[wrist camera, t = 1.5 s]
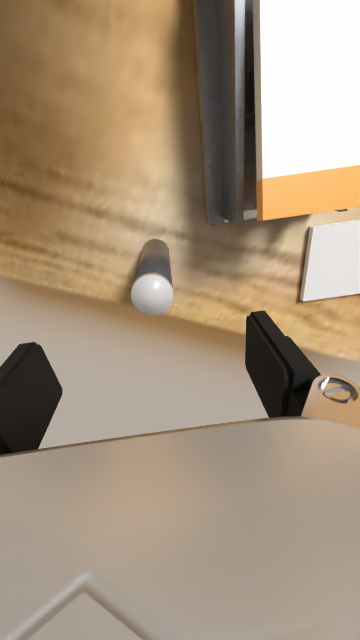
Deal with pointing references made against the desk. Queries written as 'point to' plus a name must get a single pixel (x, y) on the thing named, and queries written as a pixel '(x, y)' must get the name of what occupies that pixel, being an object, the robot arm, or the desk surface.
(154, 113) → the desk surface
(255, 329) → the robot arm
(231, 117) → the tilting lid box
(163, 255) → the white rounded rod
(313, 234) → the mat
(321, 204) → the tilting box lid
